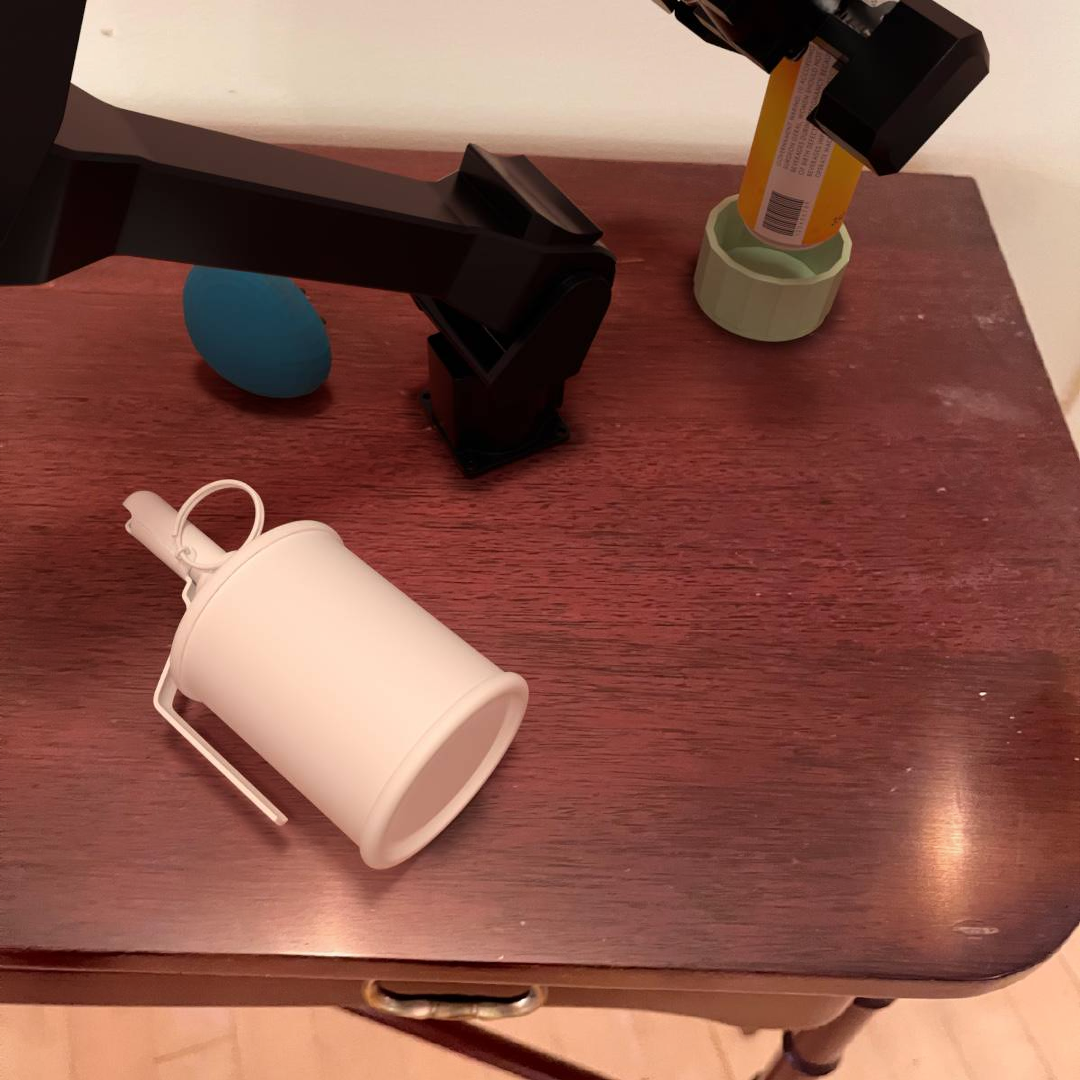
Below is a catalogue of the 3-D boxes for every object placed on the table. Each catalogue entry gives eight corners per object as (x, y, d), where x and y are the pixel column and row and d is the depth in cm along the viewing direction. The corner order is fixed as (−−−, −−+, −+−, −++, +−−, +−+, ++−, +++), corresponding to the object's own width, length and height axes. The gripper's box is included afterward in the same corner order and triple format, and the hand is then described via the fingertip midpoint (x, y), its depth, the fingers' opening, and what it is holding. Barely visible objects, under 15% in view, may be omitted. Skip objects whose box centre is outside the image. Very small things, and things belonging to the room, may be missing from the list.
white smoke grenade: (547, 705, 45) (246, 468, 51) (508, 656, 36) (152, 379, 43) (393, 901, 43) (101, 629, 49) (313, 899, 34) (-27, 569, 41)
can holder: (745, 359, 60) (762, 301, 56) (667, 271, 64) (678, 212, 60) (857, 315, 63) (881, 258, 59) (775, 234, 67) (793, 175, 63)
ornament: (356, 376, 58) (336, 234, 49) (319, 433, 55) (291, 293, 47) (226, 337, 59) (186, 191, 51) (184, 391, 56) (135, 246, 48)
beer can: (843, 203, 60) (941, -65, 47) (831, 267, 56) (933, -5, 44) (743, 180, 60) (814, -90, 48) (725, 242, 57) (796, -33, 45)
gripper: (1076, -197, 33) (1112, 48, 46) (718, -367, 41) (834, -120, 54) (828, 92, 36) (927, 243, 49) (545, -118, 45) (693, 58, 58)
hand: (843, 94), depth 53 cm, fingers closed on beer can, 6 cm apart
